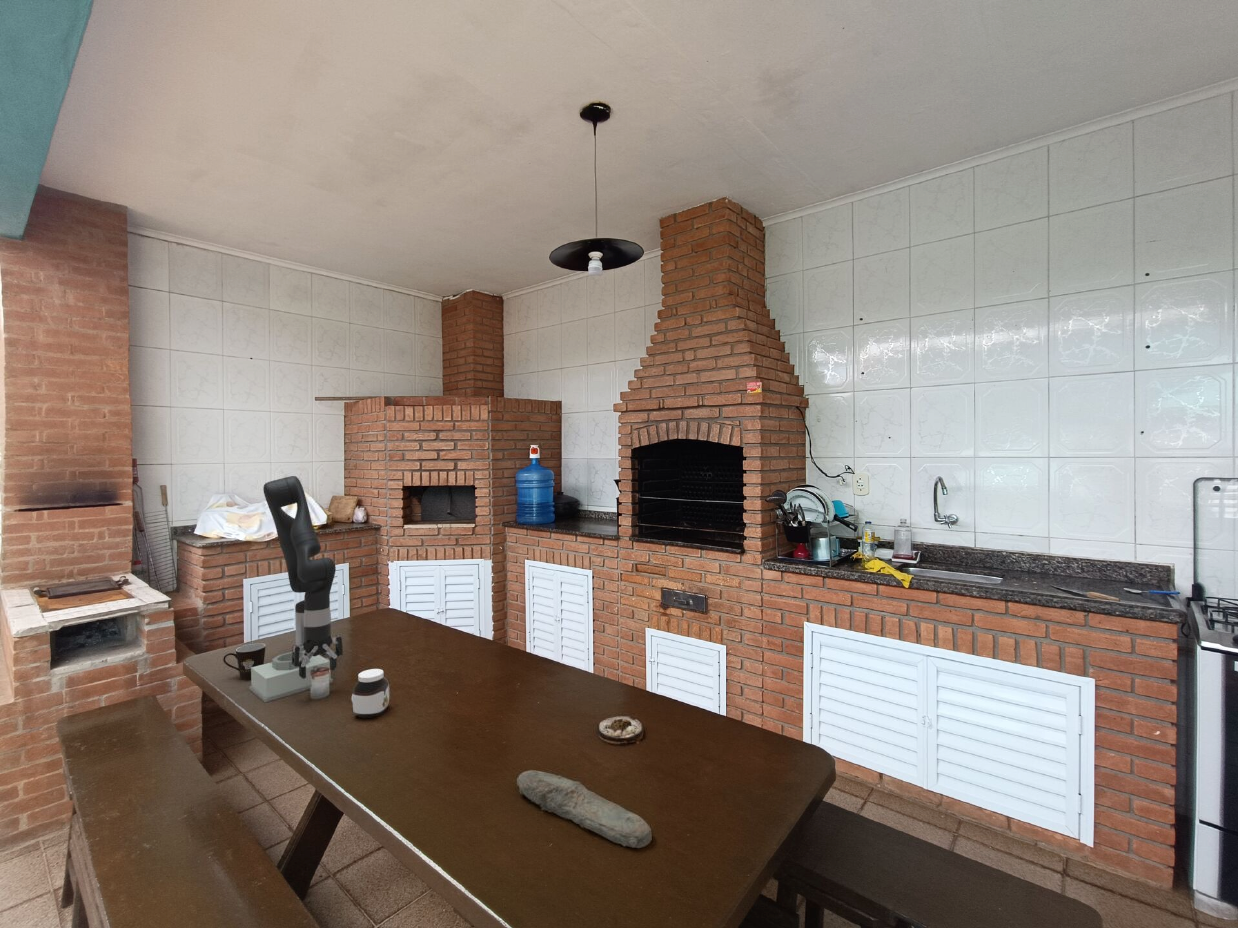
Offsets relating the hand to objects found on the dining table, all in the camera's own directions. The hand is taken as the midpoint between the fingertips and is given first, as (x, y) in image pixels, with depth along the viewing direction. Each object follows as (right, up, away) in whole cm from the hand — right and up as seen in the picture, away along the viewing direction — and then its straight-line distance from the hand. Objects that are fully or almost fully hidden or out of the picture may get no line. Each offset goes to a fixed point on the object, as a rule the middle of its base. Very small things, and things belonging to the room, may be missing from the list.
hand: (318, 673), depth 178 cm
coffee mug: (-33, -7, +16) cm, 37 cm away
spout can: (0, -7, +1) cm, 7 cm away
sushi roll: (+95, -8, -25) cm, 98 cm away
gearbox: (-13, -7, +8) cm, 17 cm away
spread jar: (+20, -7, -10) cm, 24 cm away
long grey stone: (+86, -8, -58) cm, 104 cm away
